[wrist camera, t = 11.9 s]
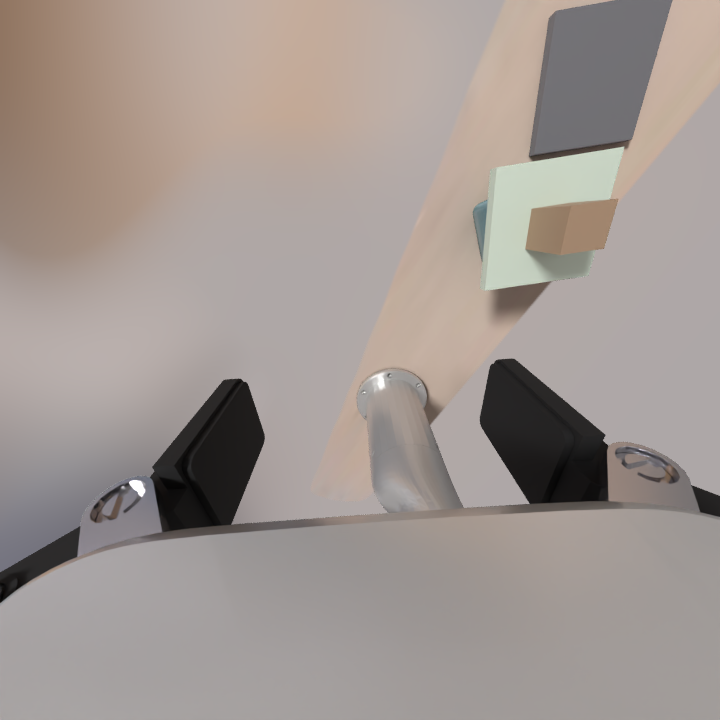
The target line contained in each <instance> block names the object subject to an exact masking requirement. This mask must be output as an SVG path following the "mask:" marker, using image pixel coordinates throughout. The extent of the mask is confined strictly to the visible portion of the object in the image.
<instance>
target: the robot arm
mask: <svg viewBox="0 0 720 720" xmlns="http://www.w3.org/2000/svg"><path fill="white" fill-rule="evenodd" d="M389 373H390V374H389ZM426 401H427V393H426V389H425V387H424V385H423V383H422V381H421V380H420V379H419V378H418V377H417V376H416V375H414V374H413V373H411V372H409V371H406V370H402V369H386V370H382V371H379V372H376V373H374V374H372V375H371V376H369V377H368V378H367V379H366V380H365V381H364V382H363V383H362V385H361V386H360V388H359V390H358V393H357V407H358V410H359V412H360V414H361V415H362V416H363V418H364V419H366V420H367V429H368V442H369V455H370V468H371V481H372V487H373V490H374V493H375V495H376V497H377V499H378V501H379V502H380V504H381V505H382V506H383V508H384V509H385V510H386V511H387V512H388V513H384V514H370V515H355V516H342V517H341V516H340V517H326V518H313V519H300V520H286V521H272V522H259V523H245V524H234V525H231V523H232V521H233V519H234V516H235V514H236V511H237V509H238V506H239V504H240V501H241V499H242V496H243V494H244V491H245V489H246V486H247V484H248V481H249V479H250V476H251V473H252V471H253V469H254V466H255V464H256V461H257V459H258V457H259V454H260V452H261V449H262V447H263V444H264V439H265V436H264V432H263V429H262V425H261V423H260V419H259V416H258V414H257V410H256V407H255V404H254V401H253V398H252V395H251V392H250V389H249V386H248V384H247V383H246V382H243V381H242V380H241V379H229V380H224V381H222V383H221V384H220V385H219V386H218V388H217V389H216V390H215V391H214V393H213V394H212V395H211V396H210V397H209V399H208V400H207V401H206V402H205V403H204V405H203V406H202V407H201V408H200V410H199V411H198V412H197V413H196V415H195V416H194V417H193V418H192V419H191V420H190V422H189V423H188V424H187V426H186V427H185V428H184V429H183V430H182V431H181V433H180V434H179V435H178V436H177V438H176V439H175V440H174V441H173V442H172V444H171V445H170V446H169V447H168V448H167V450H166V451H165V452H164V453H163V455H162V456H161V457H160V458H159V459H158V461H157V462H156V463H155V464H154V466H153V469H154V471H155V472H154V473H153V474H152V475H151V477H150V478H149V477H147V476H135V477H131V478H128V479H125V480H123V481H121V482H118V483H116V484H115V485H113V486H111V487H110V488H108V489H107V490H105V491H104V492H103V493H101V494H100V495H99V496H97V497H96V498H95V499H94V500H93V501H92V502H91V503H90V504H89V506H88V507H87V509H86V510H85V511H84V513H83V516H82V519H81V526H80V527H78V528H77V529H75V530H73V531H71V532H70V533H68V534H66V535H64V536H63V537H61V538H59V539H58V540H56V541H54V542H52V543H51V544H49V545H47V546H46V547H44V548H42V549H40V550H38V551H37V552H35V553H33V554H31V555H30V556H28V557H26V558H24V559H23V560H21V561H19V562H18V563H16V564H14V565H12V566H11V567H9V568H7V569H5V570H4V571H2V572H0V720H720V496H718V495H716V494H713V493H710V492H708V491H705V490H702V489H700V488H697V487H695V486H692V485H691V483H690V479H689V477H688V476H687V474H686V472H685V471H684V470H683V469H682V468H681V467H680V466H679V465H678V464H677V463H676V462H674V461H673V460H671V459H670V458H668V457H667V456H665V455H663V454H661V453H659V452H657V451H655V450H653V449H650V448H648V447H645V446H642V445H638V444H634V443H628V442H617V443H613V444H611V445H609V446H608V445H607V444H606V443H605V442H604V441H603V439H604V437H605V434H604V433H602V432H601V431H600V430H599V429H598V428H596V427H595V426H594V425H593V424H592V423H591V422H589V421H588V420H587V419H586V418H585V417H583V416H582V415H581V414H580V413H578V412H577V411H576V410H575V409H574V408H572V407H571V406H570V405H569V404H568V403H567V402H565V401H564V400H563V399H562V398H561V397H559V396H558V395H557V394H556V393H555V392H553V391H552V390H551V389H550V388H549V387H547V386H546V385H545V384H544V383H543V382H541V381H540V380H539V379H538V378H537V377H535V376H534V375H533V374H532V373H531V372H529V371H528V370H527V369H526V368H525V367H523V366H522V365H521V364H520V363H518V361H516V360H515V359H501V360H496V361H495V363H494V364H492V365H491V366H490V369H489V374H488V379H487V384H486V390H485V395H484V400H483V405H482V410H481V415H480V424H481V427H482V429H483V430H484V432H485V434H486V435H487V437H488V438H489V440H490V441H491V443H492V445H493V446H494V448H495V449H496V451H497V453H498V454H499V456H500V457H501V459H502V460H503V462H504V464H505V465H506V467H507V468H508V470H509V472H510V473H511V475H512V476H513V478H514V479H515V481H516V483H517V484H518V486H519V487H520V489H521V490H522V492H523V494H524V495H525V496H526V498H527V500H528V501H529V503H530V504H523V505H506V506H490V507H476V508H463V505H462V503H461V502H460V499H459V497H458V495H457V493H456V491H455V489H454V486H453V484H452V482H451V479H450V477H449V474H448V472H447V469H446V466H445V464H444V461H443V458H442V456H441V453H440V451H439V448H438V445H437V443H436V440H435V438H434V435H433V432H432V430H431V427H430V424H429V422H428V419H427V417H426V414H425V411H424V408H425V405H426Z"/></svg>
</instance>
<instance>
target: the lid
mask: <svg viewBox="0 0 720 720" xmlns="http://www.w3.org/2000/svg"><path fill="white" fill-rule="evenodd" d="M623 150H624V147H619V148H613V149H607V150H601V151H594V152H588V153H582V154H576V155H570V156H564V157H558V158H552V159H546V160H539V161H533V162H527V163H521V164H515V165H509V166H503V167H497V168H494V169H491V170H490V180H489V192H488V204H487V215H486V227H485V239H484V250H483V262H482V274H481V285H480V288H481V289H483V290H485V291H487V290H494V289H501V288H508V287H515V286H522V285H528V284H535V283H542V282H549V281H556V280H563V279H570V278H577V277H583V276H588V275H589V272H590V268H591V264H592V261H593V258H594V254H595V250H598V249H604V246H605V243H606V240H607V236H608V233H609V229H610V226H611V222H612V219H613V216H614V212H615V209H616V206H617V202H618V199H610V197H611V193H612V190H613V186H614V182H615V179H616V175H617V172H618V168H619V165H620V161H621V157H622V154H623Z"/></svg>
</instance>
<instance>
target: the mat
mask: <svg viewBox="0 0 720 720" xmlns="http://www.w3.org/2000/svg"><path fill="white" fill-rule="evenodd" d="M671 3H672V0H615V1H609V2H603V3H598V4H592V5H586V6H581V7H575V8H569V9H564V10H558V11H556V12H555V13H554V14H553V15H552V16H551V17H550V18H549V22H548V29H547V36H546V43H545V50H544V56H543V63H542V70H541V77H540V84H539V91H538V98H537V105H536V111H535V118H534V125H533V132H532V139H531V146H530V153H529V156H535V155H542V154H548V153H555V152H561V151H567V150H574V149H580V148H587V147H593V146H599V145H606V144H612V143H618V142H624V141H628V140H631V139H632V137H633V134H634V130H635V127H636V124H637V120H638V117H639V113H640V110H641V106H642V103H643V99H644V96H645V93H646V89H647V86H648V82H649V79H650V75H651V72H652V69H653V65H654V62H655V58H656V55H657V51H658V48H659V44H660V41H661V38H662V34H663V31H664V27H665V24H666V20H667V17H668V13H669V10H670V7H671Z"/></svg>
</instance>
